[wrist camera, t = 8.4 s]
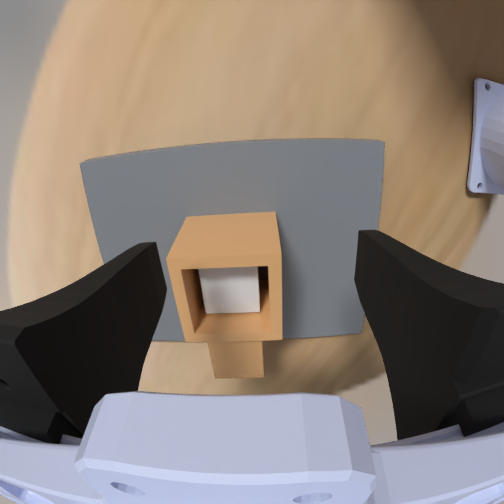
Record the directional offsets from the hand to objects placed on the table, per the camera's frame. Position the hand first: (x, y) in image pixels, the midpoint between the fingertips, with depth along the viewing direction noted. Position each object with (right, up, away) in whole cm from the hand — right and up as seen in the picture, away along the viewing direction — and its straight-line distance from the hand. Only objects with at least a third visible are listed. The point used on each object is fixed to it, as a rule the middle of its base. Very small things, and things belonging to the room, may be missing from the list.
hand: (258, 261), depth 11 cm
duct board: (-1, 0, +10) cm, 10 cm away
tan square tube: (-1, -1, +9) cm, 10 cm away
